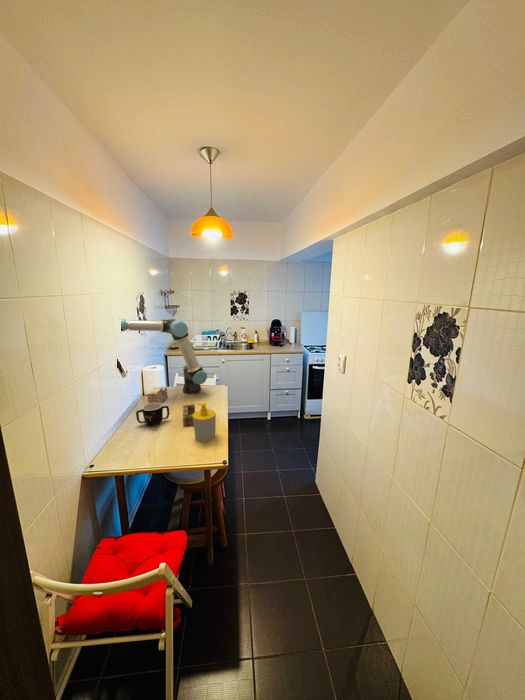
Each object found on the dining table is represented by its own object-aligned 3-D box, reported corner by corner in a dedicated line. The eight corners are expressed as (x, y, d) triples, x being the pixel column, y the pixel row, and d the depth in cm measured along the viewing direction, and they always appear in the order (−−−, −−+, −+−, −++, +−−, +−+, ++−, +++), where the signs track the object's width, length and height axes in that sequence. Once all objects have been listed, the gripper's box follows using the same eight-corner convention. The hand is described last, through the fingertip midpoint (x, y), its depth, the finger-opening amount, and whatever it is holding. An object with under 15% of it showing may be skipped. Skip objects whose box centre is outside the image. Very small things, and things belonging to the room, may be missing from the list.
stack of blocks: (160, 398, 221) (158, 383, 218) (167, 398, 221) (166, 383, 218) (148, 409, 200) (147, 393, 198) (157, 409, 200) (155, 393, 197)
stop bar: (183, 413, 193) (183, 405, 191) (194, 412, 194) (194, 404, 193) (183, 426, 174) (182, 418, 172) (195, 425, 176) (195, 416, 174)
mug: (134, 426, 175) (132, 408, 173) (155, 416, 189) (153, 399, 187) (153, 431, 168) (151, 413, 165) (172, 420, 182) (171, 403, 179)
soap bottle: (202, 430, 169) (200, 397, 165) (220, 434, 164) (219, 400, 160) (189, 441, 157) (186, 406, 153) (209, 445, 153) (207, 409, 148)
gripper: (106, 347, 189) (121, 374, 194) (101, 350, 166) (118, 381, 171) (117, 342, 192) (132, 369, 197) (114, 345, 169) (130, 375, 174)
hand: (125, 375), depth 184 cm, fingers open, 13 cm apart
